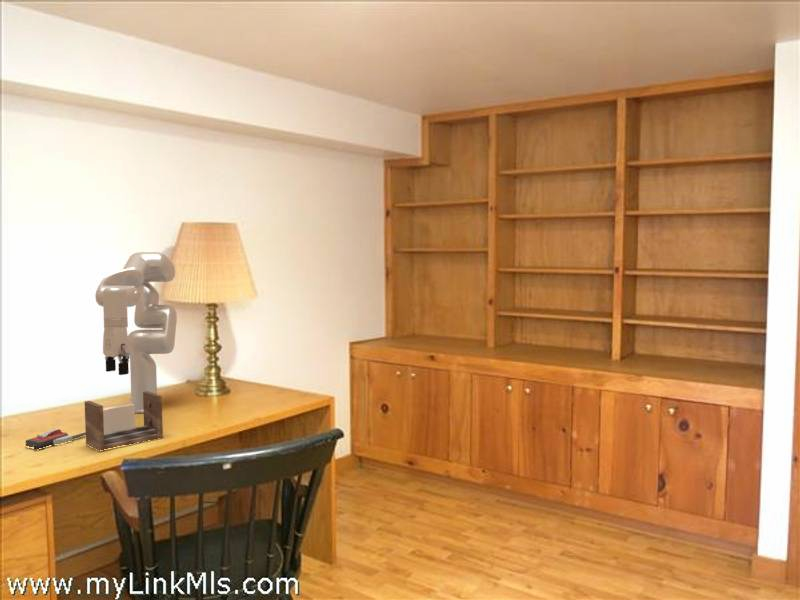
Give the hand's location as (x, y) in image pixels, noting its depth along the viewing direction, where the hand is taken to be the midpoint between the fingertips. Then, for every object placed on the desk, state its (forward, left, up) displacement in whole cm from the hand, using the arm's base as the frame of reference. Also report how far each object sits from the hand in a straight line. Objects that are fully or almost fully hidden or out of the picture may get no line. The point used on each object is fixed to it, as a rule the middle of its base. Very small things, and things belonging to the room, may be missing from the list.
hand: (117, 372), depth 229 cm
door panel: (-1, -2, -21) cm, 21 cm away
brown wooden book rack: (+12, -4, -21) cm, 25 cm away
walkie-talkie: (-4, -19, -22) cm, 29 cm away
